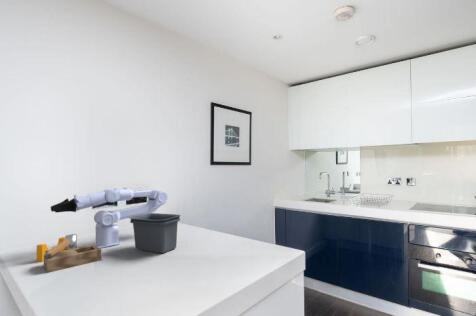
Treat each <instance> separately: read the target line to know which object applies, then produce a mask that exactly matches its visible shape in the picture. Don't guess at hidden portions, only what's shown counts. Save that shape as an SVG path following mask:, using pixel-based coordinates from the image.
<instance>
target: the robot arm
mask: <svg viewBox="0 0 476 316" xmlns="http://www.w3.org/2000/svg"><path fill="white" fill-rule="evenodd" d="M144 197H145V198H147V203H146V204H141V205H136V206H131V207H126V208H122V209H116V210H109V211H107V210H98V211H96V212H95V214H94V215H93V220H94V222H95V223H96V225H95V243H93V244H92V245H96V246H97V247H98V248H100V249H103V248H107V247H112V246H117V245H120V233H119V232H120V230H119V225H118V224H115V223H118V222H119V221H122V220H126V219H130V218H129V217H132V216H137V215H142V214H148V213H155V212H156V211H157V210H158V209H159V208H161V207H162V206H164V205H165V204H166V202H168V201H167V200H168V197H169V195H168V193H167V192H166V191H164V190H155V189H154V190H153V189H144V190H143V189H142V190H132V189H130V188H128V187H124V188H119V189H118V188H113V189H107V188H106V189H104V190H102V191H100V192H93V193H89V194H85V195H80V196H77V194H74V195H73V198H71V199H70V200H69V198H66V199H64V200H63V201H61V202H59V203H57V204H54V205H51V206H50V211H51V212H54V213H64V212H67V213H69V212H73V213H77V212H78V211H80V210H84V209H88V208H90V207H95V206H99V205H102V204H106V203H115V202H125V201H130V200H132V199H133V198H144Z"/></svg>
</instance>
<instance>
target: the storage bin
mask: <svg viewBox="0 0 476 316" xmlns="http://www.w3.org/2000/svg"><path fill="white" fill-rule="evenodd" d="M181 216H182V215H181V214H176V213H175V214H172V213H157V212H156V213H155V212H153V213H148V214H142V215H137V216H132V217H129V218H128V219H129V223H130V224H132V227H133V236H134V246H135V249H136V250H140V251H145V252H146V251H147V252H153V253H158V254H164V253H167V252H170V251H171V250H174V249H176V248H177V238H178V236H177V235H178V222H181Z"/></svg>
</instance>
